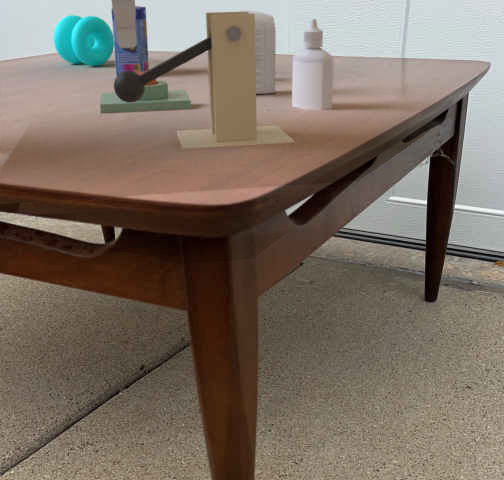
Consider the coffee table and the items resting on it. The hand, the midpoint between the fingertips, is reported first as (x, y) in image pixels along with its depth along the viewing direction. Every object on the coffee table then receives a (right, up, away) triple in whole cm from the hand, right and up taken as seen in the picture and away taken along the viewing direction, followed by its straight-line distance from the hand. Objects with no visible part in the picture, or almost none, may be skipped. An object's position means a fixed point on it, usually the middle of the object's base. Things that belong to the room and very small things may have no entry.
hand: (127, 43), depth 70 cm
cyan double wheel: (-24, +25, +80) cm, 87 cm away
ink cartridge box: (-10, +18, +65) cm, 68 cm away
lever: (+6, -2, +2) cm, 7 cm away
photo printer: (+11, +6, +40) cm, 42 cm away
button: (-2, +3, +25) cm, 25 cm away
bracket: (+11, -9, +6) cm, 15 cm away
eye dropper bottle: (+21, -2, +23) cm, 31 cm away
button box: (-2, 0, +27) cm, 27 cm away
